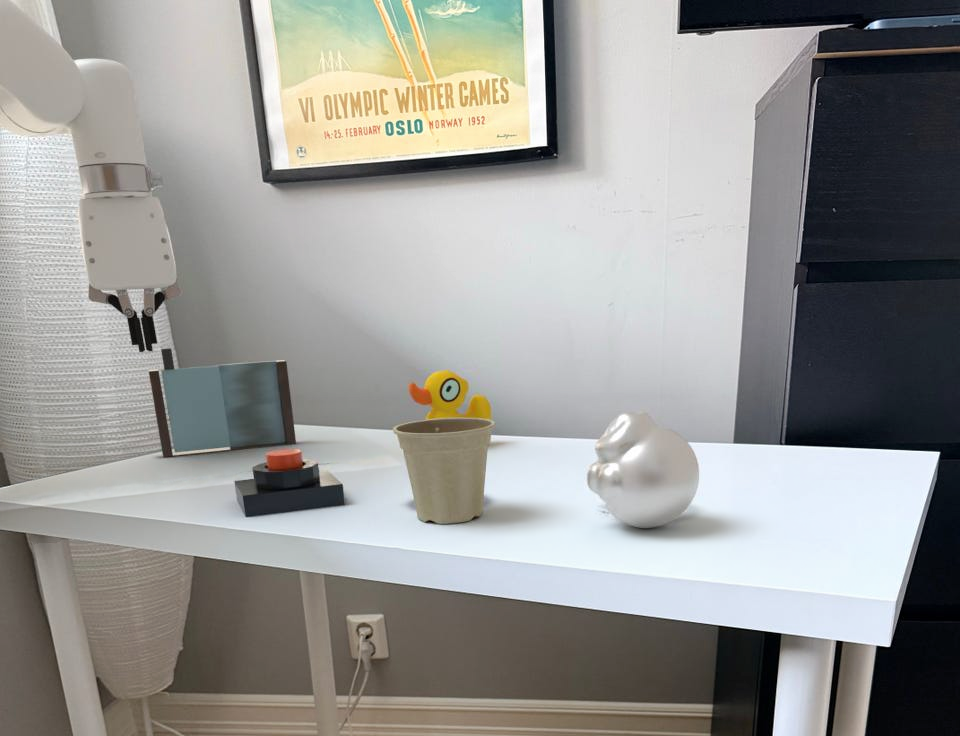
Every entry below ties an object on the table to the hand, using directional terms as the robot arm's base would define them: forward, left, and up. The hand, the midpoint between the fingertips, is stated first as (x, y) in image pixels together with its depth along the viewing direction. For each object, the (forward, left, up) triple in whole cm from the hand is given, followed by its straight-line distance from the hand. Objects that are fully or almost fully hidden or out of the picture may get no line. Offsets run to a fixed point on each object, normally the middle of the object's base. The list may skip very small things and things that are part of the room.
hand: (145, 350), depth 114 cm
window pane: (+5, 0, -13) cm, 14 cm away
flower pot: (+24, -44, -15) cm, 52 cm away
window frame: (+8, 0, -14) cm, 17 cm away
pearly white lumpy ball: (+38, -56, -15) cm, 69 cm away
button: (+11, -30, -11) cm, 33 cm away
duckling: (+36, -9, -15) cm, 40 cm away
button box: (+11, -30, -14) cm, 35 cm away
